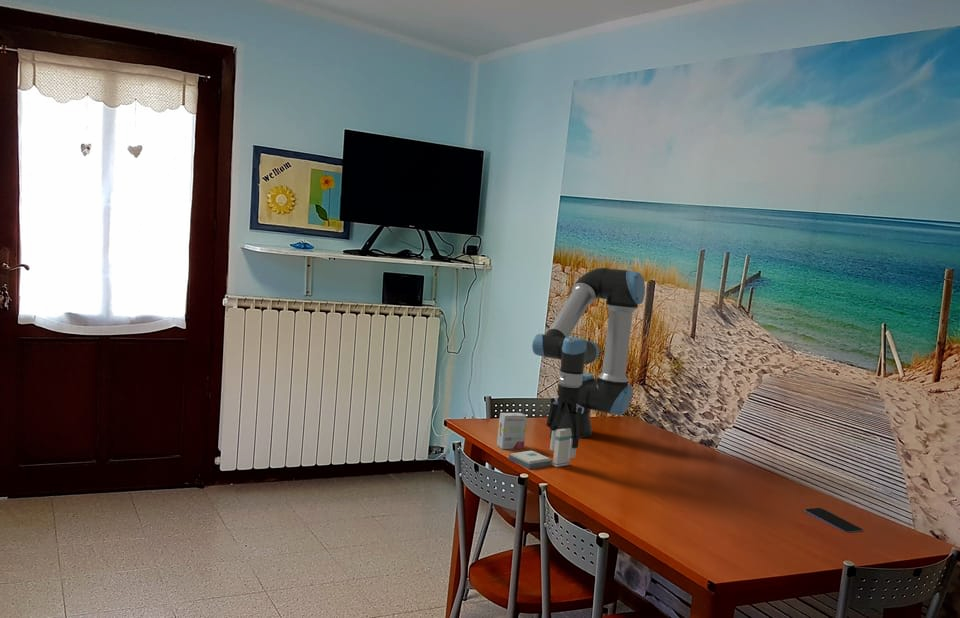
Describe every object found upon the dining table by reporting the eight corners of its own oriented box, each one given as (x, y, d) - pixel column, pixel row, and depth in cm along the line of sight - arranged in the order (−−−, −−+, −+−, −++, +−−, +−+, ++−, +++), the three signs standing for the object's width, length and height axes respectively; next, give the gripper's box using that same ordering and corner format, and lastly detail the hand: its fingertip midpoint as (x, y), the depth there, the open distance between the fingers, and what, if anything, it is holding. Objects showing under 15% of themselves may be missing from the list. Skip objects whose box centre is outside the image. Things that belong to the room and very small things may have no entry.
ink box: (518, 444, 250) (521, 412, 249) (524, 448, 245) (527, 415, 244) (496, 445, 247) (499, 412, 246) (501, 449, 242) (505, 415, 241)
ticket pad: (531, 456, 238) (531, 449, 237) (551, 465, 230) (552, 458, 230) (508, 459, 231) (509, 453, 231) (529, 469, 224) (529, 462, 223)
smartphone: (846, 531, 196) (803, 509, 209) (845, 535, 196) (802, 512, 210) (864, 529, 199) (820, 507, 212) (863, 533, 199) (820, 511, 212)
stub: (565, 463, 233) (569, 427, 232) (569, 464, 232) (573, 429, 231) (552, 465, 229) (556, 429, 228) (556, 467, 228) (560, 431, 227)
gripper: (540, 378, 234) (532, 445, 236) (585, 393, 218) (577, 464, 220) (556, 377, 238) (549, 443, 240) (601, 391, 222) (593, 461, 224)
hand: (562, 453), depth 230 cm, fingers open, 8 cm apart
